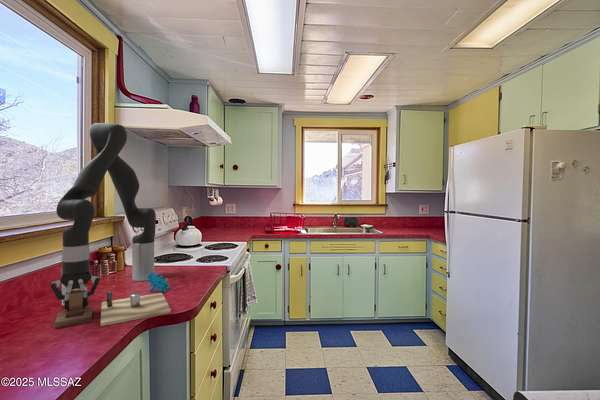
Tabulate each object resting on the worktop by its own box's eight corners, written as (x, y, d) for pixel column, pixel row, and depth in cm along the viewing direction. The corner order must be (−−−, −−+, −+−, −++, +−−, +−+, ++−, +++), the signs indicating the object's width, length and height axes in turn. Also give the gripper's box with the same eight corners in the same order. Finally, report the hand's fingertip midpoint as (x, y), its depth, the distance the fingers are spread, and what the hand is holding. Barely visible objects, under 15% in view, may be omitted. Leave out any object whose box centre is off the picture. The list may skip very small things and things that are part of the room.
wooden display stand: (91, 321, 94) (91, 298, 94) (54, 328, 89) (54, 303, 89) (93, 306, 106) (93, 285, 106) (61, 311, 101) (60, 290, 101)
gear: (158, 292, 117) (144, 272, 119) (148, 302, 117) (134, 282, 120) (175, 287, 128) (162, 269, 130) (166, 296, 128) (153, 278, 130)
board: (101, 305, 108) (101, 302, 108) (162, 295, 119) (162, 292, 118) (100, 326, 91) (100, 323, 91) (170, 312, 102) (170, 309, 102)
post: (130, 305, 105) (130, 294, 105) (139, 303, 107) (139, 292, 107) (130, 308, 103) (130, 296, 102) (140, 306, 104) (140, 295, 104)
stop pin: (106, 305, 104) (106, 291, 104) (112, 305, 105) (112, 291, 105) (106, 307, 103) (106, 293, 103) (112, 306, 104) (112, 292, 104)
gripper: (101, 254, 107) (101, 301, 107) (50, 258, 99) (51, 309, 100) (101, 258, 101) (101, 308, 101) (46, 263, 93) (47, 317, 94)
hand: (76, 308), depth 100 cm, fingers closed on wooden display stand, 3 cm apart
